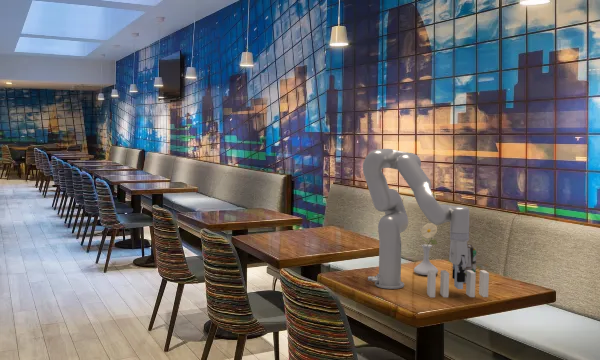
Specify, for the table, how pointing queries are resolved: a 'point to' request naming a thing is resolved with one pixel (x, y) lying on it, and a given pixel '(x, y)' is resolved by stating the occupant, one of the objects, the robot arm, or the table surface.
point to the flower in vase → (427, 250)
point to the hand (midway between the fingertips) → (458, 279)
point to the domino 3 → (457, 284)
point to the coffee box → (469, 260)
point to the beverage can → (474, 260)
